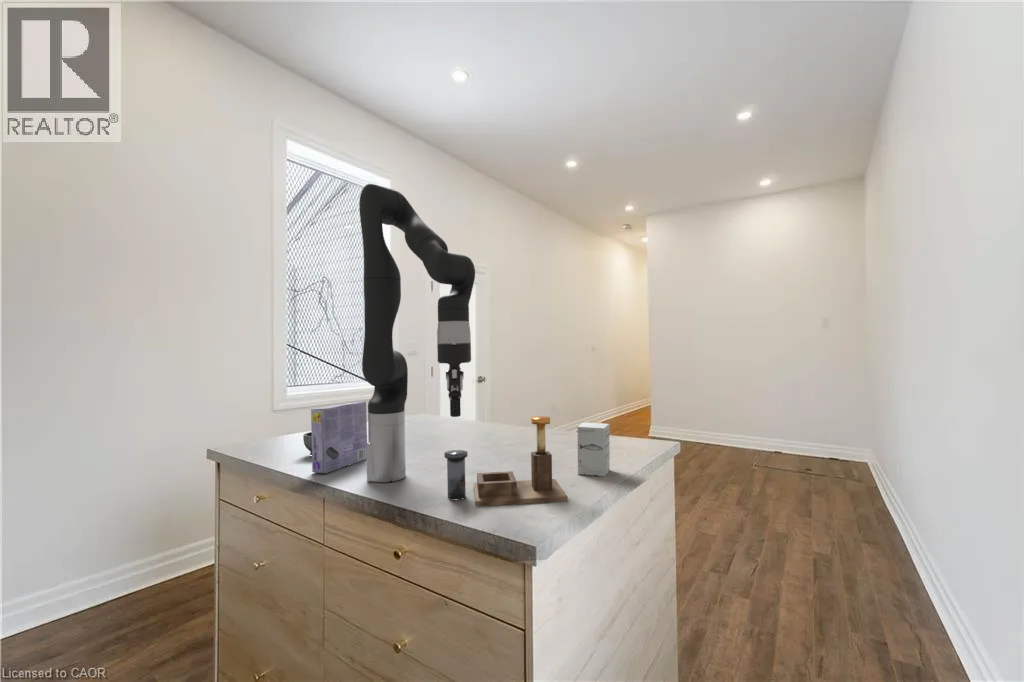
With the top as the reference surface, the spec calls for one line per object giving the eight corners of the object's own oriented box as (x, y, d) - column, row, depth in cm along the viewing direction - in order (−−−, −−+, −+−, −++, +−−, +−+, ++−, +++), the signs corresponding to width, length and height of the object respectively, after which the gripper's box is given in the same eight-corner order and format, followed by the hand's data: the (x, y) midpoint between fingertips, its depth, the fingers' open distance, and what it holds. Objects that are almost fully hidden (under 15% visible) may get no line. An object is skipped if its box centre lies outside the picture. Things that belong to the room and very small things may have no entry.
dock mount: (475, 506, 98) (474, 463, 98) (473, 487, 111) (473, 449, 111) (567, 500, 100) (566, 459, 100) (555, 483, 113) (554, 446, 113)
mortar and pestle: (321, 459, 140) (321, 420, 140) (296, 458, 143) (296, 419, 143) (345, 451, 151) (345, 414, 151) (322, 449, 154) (321, 413, 154)
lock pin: (533, 463, 104) (532, 419, 104) (530, 458, 108) (529, 416, 108) (552, 462, 104) (551, 418, 104) (548, 457, 109) (548, 415, 109)
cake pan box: (357, 457, 143) (357, 400, 143) (371, 458, 141) (370, 400, 141) (310, 473, 125) (309, 408, 125) (324, 475, 123) (323, 409, 123)
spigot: (444, 501, 101) (443, 456, 101) (445, 493, 106) (444, 450, 106) (468, 500, 102) (467, 454, 102) (468, 492, 107) (467, 449, 107)
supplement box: (576, 474, 120) (576, 426, 120) (583, 467, 127) (582, 421, 127) (605, 477, 117) (604, 427, 117) (610, 470, 124) (609, 423, 124)
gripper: (438, 342, 111) (440, 409, 111) (435, 342, 97) (437, 419, 97) (470, 341, 112) (471, 408, 112) (471, 341, 98) (473, 418, 97)
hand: (455, 413), depth 104 cm, fingers open, 8 cm apart
